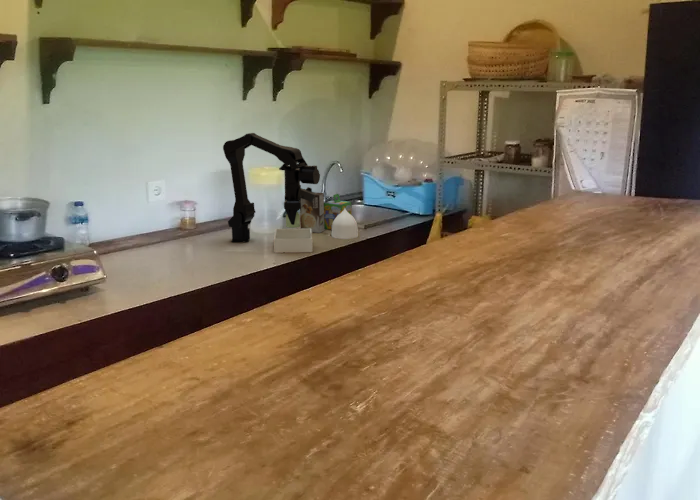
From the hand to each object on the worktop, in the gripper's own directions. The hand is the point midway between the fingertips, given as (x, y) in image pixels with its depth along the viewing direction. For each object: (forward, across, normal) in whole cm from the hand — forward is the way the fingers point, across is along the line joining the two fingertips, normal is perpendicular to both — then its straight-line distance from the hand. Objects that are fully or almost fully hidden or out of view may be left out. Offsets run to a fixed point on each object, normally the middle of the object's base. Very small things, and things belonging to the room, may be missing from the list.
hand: (292, 223), depth 259 cm
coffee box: (+10, +27, -8) cm, 30 cm away
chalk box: (+10, +31, -19) cm, 38 cm away
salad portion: (+1, 0, 0) cm, 1 cm away
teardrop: (+10, +17, -21) cm, 29 cm away
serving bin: (+9, 0, 0) cm, 9 cm away
